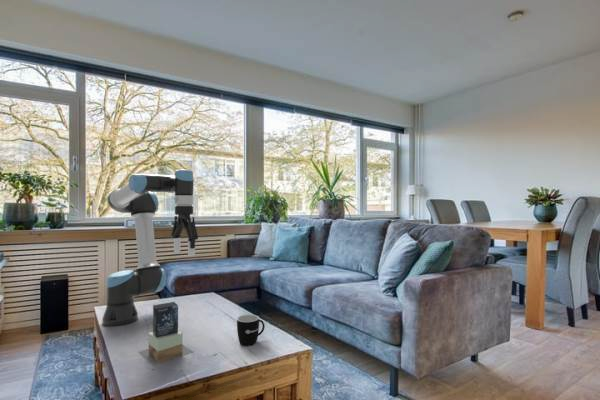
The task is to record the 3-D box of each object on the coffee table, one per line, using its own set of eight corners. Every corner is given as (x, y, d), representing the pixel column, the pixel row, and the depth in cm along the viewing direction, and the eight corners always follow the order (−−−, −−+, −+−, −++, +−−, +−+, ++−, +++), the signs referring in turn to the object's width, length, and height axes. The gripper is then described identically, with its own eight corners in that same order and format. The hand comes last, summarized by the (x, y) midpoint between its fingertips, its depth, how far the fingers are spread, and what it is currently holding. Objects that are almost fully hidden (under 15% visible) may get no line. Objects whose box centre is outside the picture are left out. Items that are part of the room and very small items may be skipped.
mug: (242, 349, 130) (242, 323, 130) (233, 341, 137) (233, 317, 138) (269, 342, 137) (269, 317, 137) (259, 335, 144) (259, 311, 144)
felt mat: (138, 352, 127) (138, 351, 127) (176, 341, 138) (176, 340, 138) (153, 366, 117) (153, 365, 117) (193, 352, 127) (193, 351, 127)
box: (156, 338, 121) (156, 308, 121) (152, 333, 125) (152, 304, 125) (178, 333, 125) (178, 304, 125) (174, 328, 130) (174, 301, 130)
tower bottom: (148, 354, 125) (148, 343, 125) (172, 347, 132) (172, 336, 132) (158, 362, 119) (158, 351, 119) (182, 354, 125) (182, 343, 125)
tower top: (148, 343, 125) (148, 333, 125) (172, 336, 132) (172, 326, 132) (158, 351, 119) (158, 340, 119) (182, 343, 125) (182, 333, 125)
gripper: (163, 205, 152) (163, 252, 152) (189, 205, 134) (189, 258, 134) (179, 205, 157) (179, 250, 157) (206, 205, 139) (206, 256, 139)
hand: (184, 254), depth 145 cm, fingers open, 13 cm apart
